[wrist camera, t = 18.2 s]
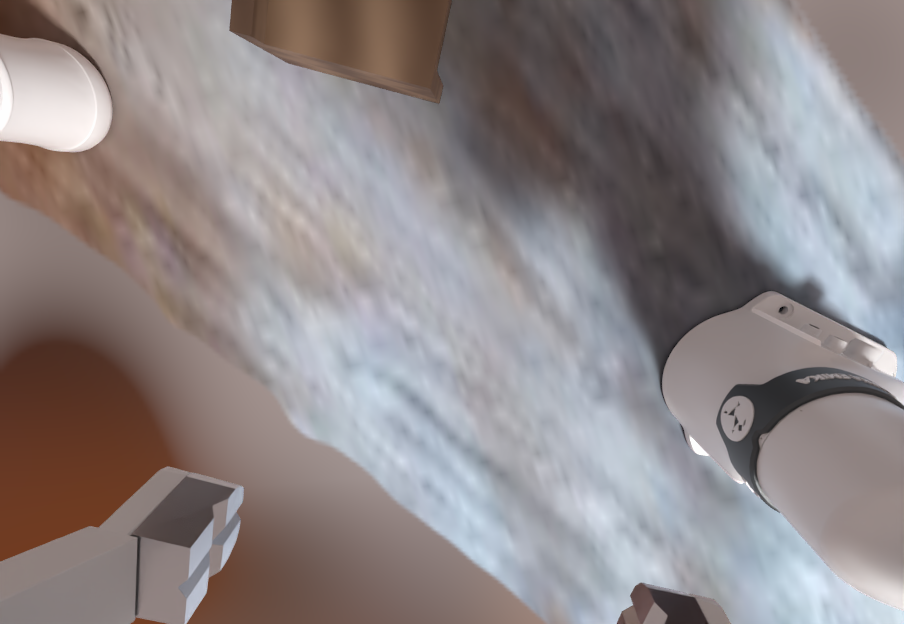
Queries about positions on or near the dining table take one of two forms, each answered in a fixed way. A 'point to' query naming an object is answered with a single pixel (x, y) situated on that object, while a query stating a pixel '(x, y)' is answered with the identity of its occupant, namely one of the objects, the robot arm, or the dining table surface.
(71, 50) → the vodka
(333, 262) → the dining table surface
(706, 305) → the dining table surface
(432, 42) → the walnut shelf
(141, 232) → the dining table surface
